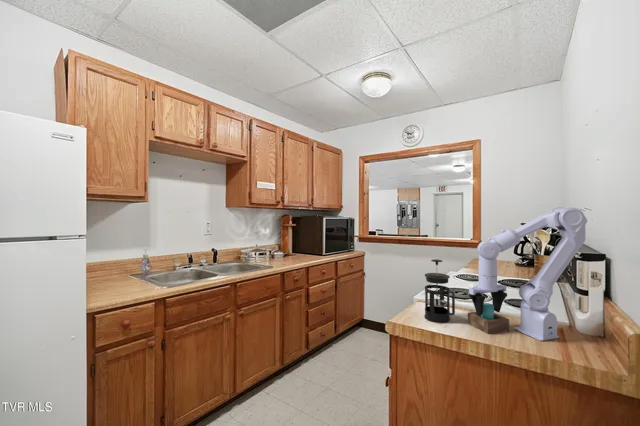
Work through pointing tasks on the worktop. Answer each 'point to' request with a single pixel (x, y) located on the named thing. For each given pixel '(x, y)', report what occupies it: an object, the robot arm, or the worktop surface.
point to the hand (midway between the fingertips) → (487, 312)
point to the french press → (436, 307)
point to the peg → (488, 311)
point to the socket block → (488, 323)
